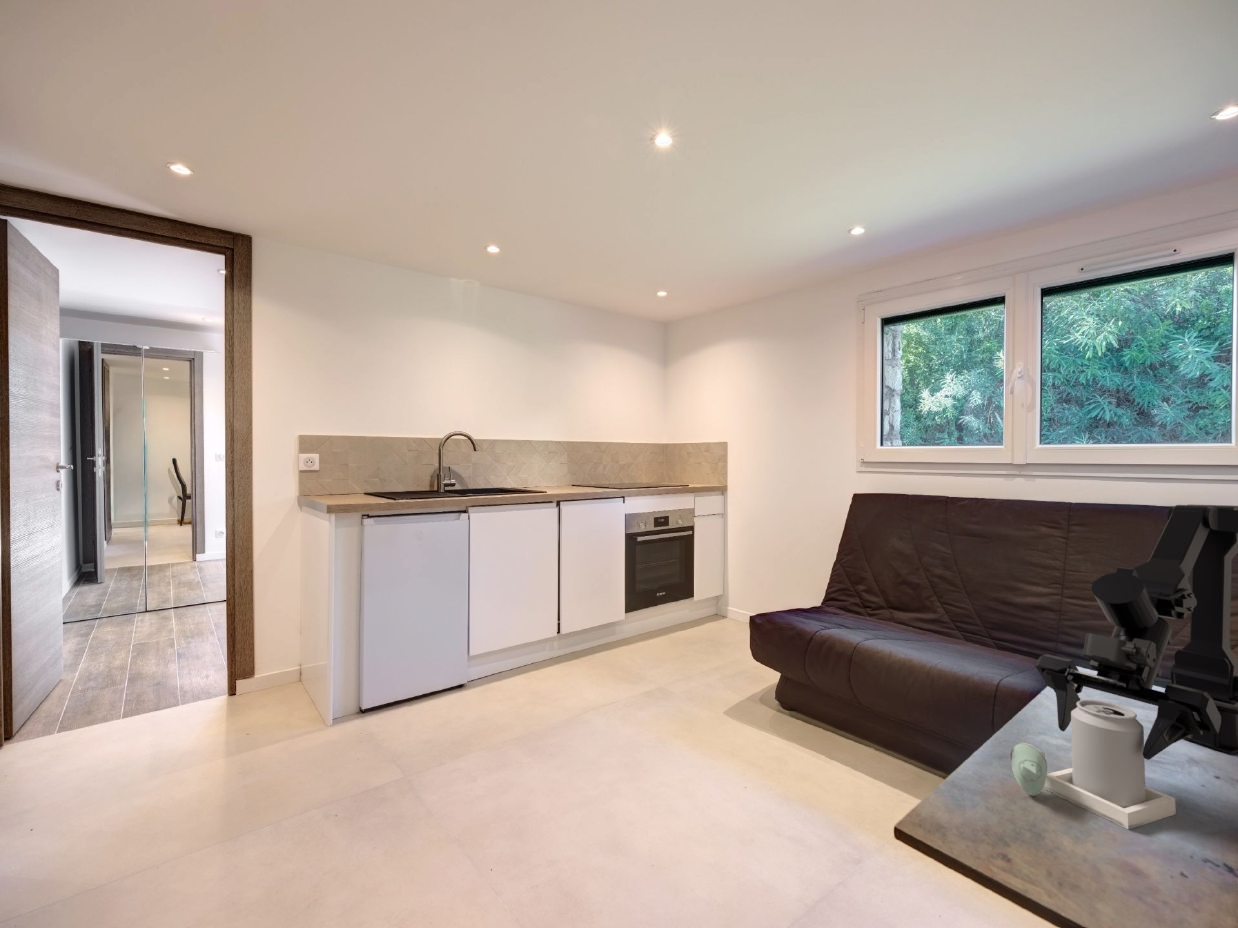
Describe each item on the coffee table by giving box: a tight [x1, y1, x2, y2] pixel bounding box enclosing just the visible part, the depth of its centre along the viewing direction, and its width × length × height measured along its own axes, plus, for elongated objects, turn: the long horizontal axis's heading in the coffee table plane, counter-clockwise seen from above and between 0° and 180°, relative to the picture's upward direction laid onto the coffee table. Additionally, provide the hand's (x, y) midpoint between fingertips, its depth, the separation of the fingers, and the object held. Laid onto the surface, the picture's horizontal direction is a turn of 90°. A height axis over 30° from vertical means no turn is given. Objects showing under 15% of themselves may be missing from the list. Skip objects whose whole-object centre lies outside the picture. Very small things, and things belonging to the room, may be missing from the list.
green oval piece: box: [1009, 742, 1048, 797], centre depth 77 cm, size 8×4×7 cm, turn 136°
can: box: [1070, 699, 1146, 808], centre depth 76 cm, size 8×8×12 cm
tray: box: [1044, 767, 1176, 830], centre depth 76 cm, size 10×10×2 cm
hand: (1101, 742), depth 75 cm, fingers open, 9 cm apart
